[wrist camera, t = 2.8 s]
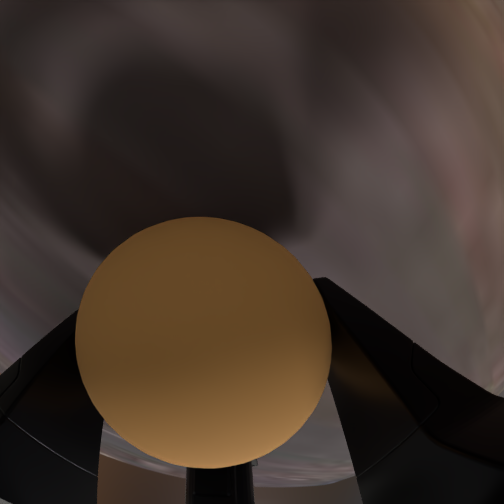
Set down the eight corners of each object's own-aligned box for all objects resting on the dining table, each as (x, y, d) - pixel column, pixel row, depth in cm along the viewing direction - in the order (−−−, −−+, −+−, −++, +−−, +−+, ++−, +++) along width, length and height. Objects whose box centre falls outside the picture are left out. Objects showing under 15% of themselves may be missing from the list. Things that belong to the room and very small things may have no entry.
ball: (299, 327, 10) (332, 475, 5) (151, 337, 10) (122, 475, 5) (303, 173, 7) (432, 346, 2) (100, 198, 7) (-30, 349, 2)
